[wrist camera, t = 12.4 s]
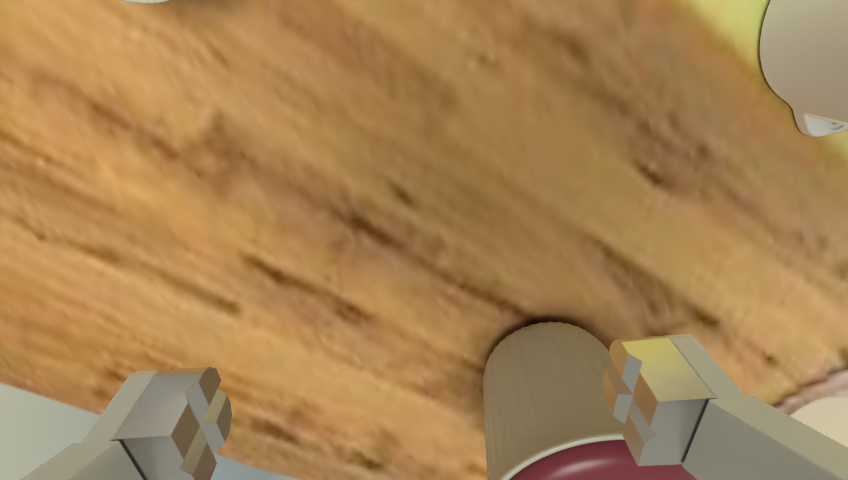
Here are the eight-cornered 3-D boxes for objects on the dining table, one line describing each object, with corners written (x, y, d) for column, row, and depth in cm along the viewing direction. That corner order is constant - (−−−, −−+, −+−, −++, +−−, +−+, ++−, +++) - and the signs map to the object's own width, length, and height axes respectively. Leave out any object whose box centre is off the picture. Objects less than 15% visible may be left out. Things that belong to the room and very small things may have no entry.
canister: (615, 401, 54) (724, 613, 35) (469, 421, 54) (502, 639, 36) (626, 282, 45) (780, 485, 26) (451, 308, 45) (483, 523, 27)
